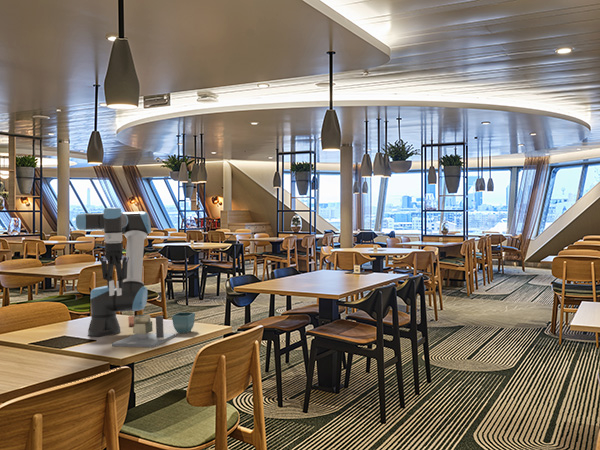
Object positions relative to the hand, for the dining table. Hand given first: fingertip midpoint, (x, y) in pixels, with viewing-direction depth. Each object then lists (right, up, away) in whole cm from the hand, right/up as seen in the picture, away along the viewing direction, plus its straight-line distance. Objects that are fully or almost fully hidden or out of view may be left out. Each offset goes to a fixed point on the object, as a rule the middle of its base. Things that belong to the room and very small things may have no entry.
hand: (115, 295), depth 247 cm
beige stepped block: (+9, -18, +5) cm, 21 cm away
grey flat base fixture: (+11, -22, +8) cm, 26 cm away
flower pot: (+25, -22, +25) cm, 42 cm away
